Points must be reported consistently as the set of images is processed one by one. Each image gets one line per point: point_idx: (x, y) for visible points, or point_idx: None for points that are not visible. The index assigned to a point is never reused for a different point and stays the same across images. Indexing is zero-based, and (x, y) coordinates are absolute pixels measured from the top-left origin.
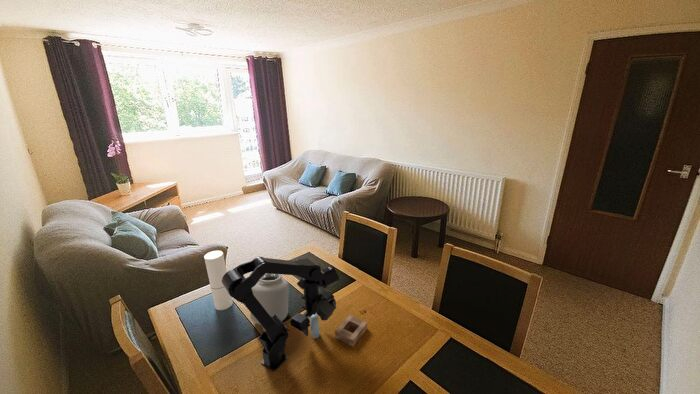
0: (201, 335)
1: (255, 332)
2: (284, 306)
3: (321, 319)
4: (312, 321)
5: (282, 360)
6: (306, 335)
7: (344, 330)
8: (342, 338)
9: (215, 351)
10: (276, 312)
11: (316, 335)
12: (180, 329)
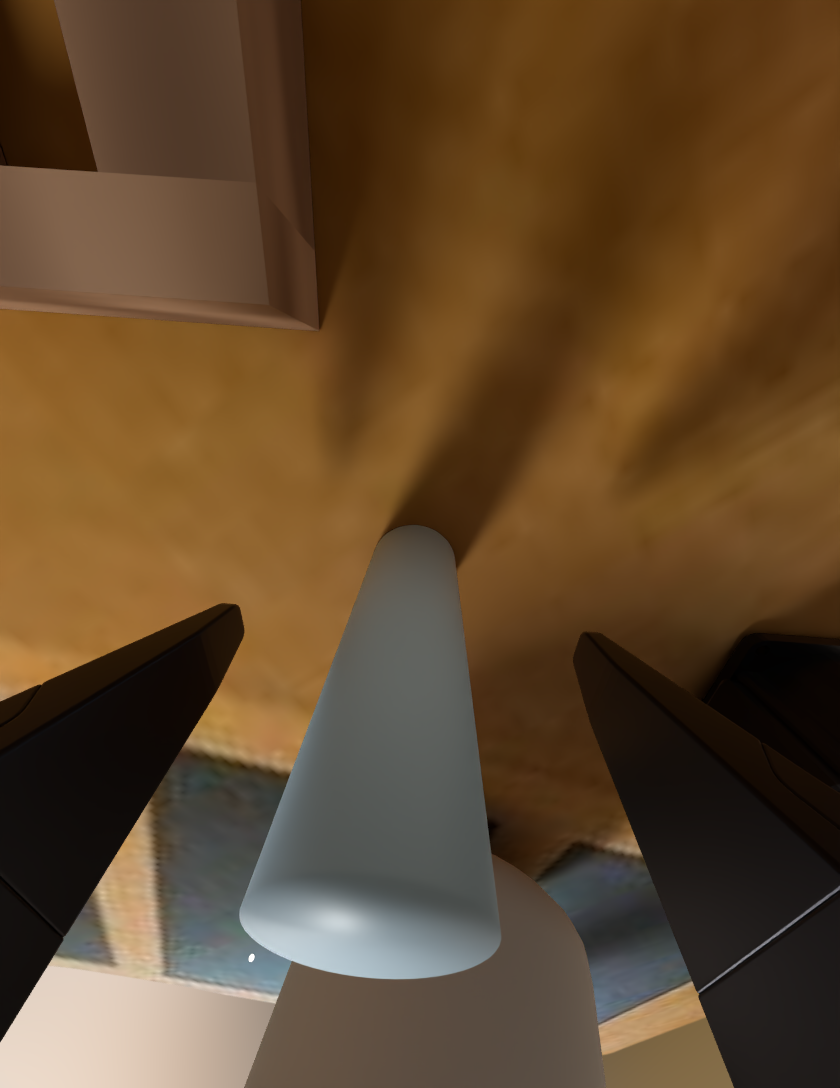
0: (661, 971)
1: (570, 864)
2: (407, 1049)
3: (240, 633)
4: (483, 808)
5: (806, 652)
6: (618, 655)
7: (105, 78)
8: (284, 114)
9: None
10: (518, 1051)
11: (440, 550)
12: (649, 1009)
